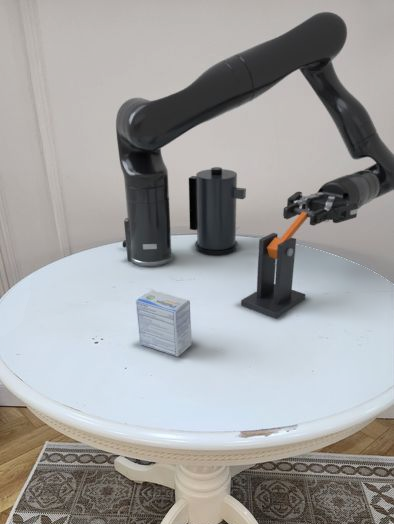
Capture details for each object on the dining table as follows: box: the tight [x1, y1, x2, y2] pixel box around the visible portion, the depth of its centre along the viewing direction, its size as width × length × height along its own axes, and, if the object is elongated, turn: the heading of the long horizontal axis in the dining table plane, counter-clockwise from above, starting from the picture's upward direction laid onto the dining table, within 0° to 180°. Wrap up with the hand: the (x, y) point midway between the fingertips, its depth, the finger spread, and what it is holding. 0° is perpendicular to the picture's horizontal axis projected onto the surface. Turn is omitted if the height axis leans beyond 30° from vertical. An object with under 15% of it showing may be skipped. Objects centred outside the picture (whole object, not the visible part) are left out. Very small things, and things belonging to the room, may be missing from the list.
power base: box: [240, 232, 306, 319], centre depth 99 cm, size 10×8×13 cm
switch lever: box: [267, 207, 313, 260], centre depth 98 cm, size 12×5×2 cm, turn 139°
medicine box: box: [135, 289, 193, 357], centre depth 87 cm, size 8×4×9 cm, turn 57°
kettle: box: [188, 166, 247, 257], centre depth 122 cm, size 13×10×18 cm
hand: (298, 216), depth 98 cm, fingers closed on switch lever, 5 cm apart
